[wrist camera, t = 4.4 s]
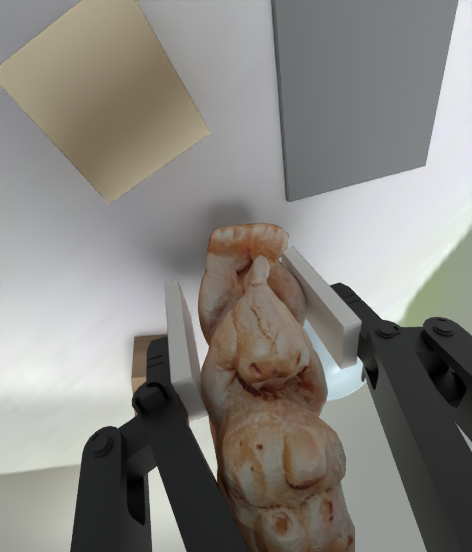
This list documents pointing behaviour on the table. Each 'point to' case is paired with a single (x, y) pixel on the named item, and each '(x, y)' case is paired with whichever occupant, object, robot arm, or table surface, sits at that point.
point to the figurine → (268, 399)
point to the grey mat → (357, 87)
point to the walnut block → (141, 360)
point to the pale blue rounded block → (335, 369)
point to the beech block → (105, 94)
